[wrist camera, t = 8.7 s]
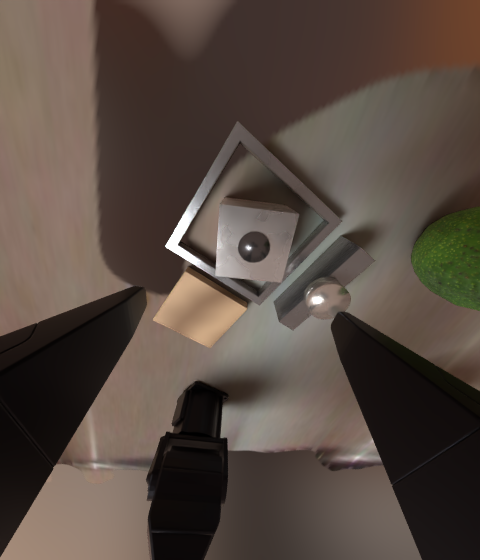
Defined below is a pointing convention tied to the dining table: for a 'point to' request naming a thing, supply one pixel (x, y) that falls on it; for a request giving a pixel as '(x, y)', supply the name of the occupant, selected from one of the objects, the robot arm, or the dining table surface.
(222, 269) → the block with dome knob
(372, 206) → the dining table surface
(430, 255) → the avocado
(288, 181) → the grey rectangular tray
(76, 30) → the dining table surface
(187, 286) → the stand
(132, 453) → the dining table surface
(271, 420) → the dining table surface
